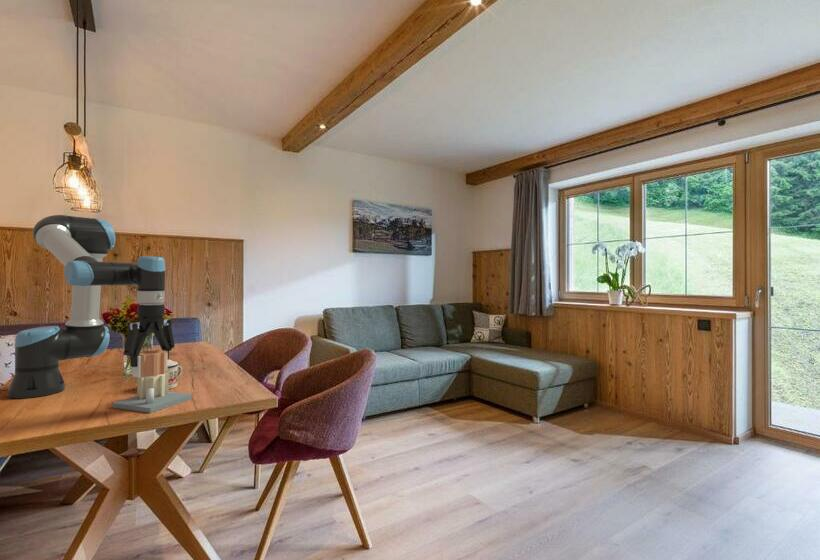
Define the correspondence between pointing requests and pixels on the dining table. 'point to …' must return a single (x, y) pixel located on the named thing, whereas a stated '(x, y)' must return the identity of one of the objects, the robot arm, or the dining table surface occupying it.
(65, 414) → the dining table surface
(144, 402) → the gear board
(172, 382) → the teacup with lid
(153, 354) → the loose gear
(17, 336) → the robot arm
